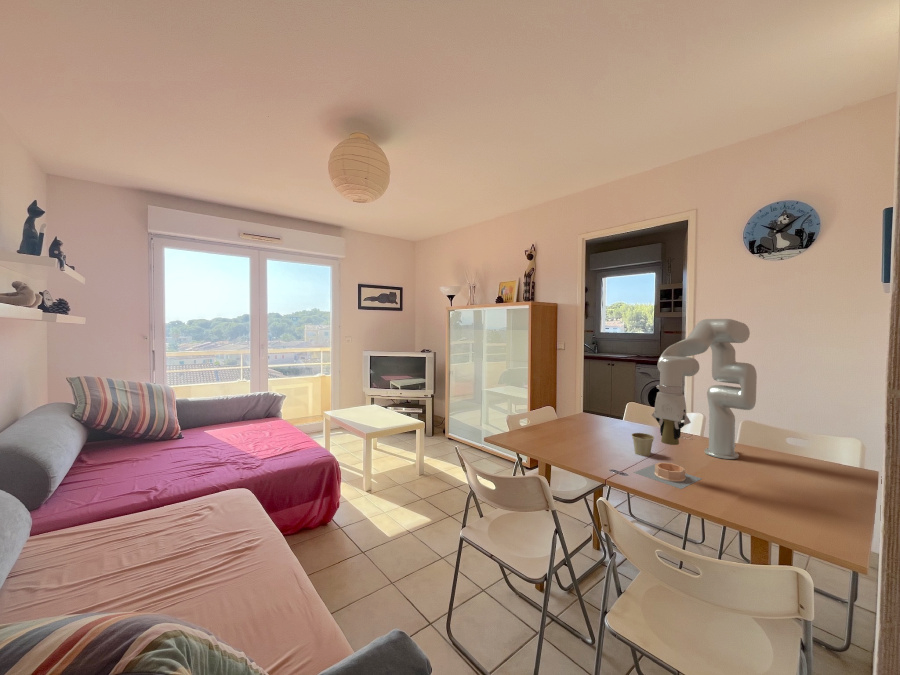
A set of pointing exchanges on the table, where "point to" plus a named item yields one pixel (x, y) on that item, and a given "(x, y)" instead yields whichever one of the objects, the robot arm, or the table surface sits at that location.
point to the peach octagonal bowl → (670, 472)
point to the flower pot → (642, 443)
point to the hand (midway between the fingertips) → (670, 436)
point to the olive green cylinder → (669, 433)
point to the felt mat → (650, 473)
